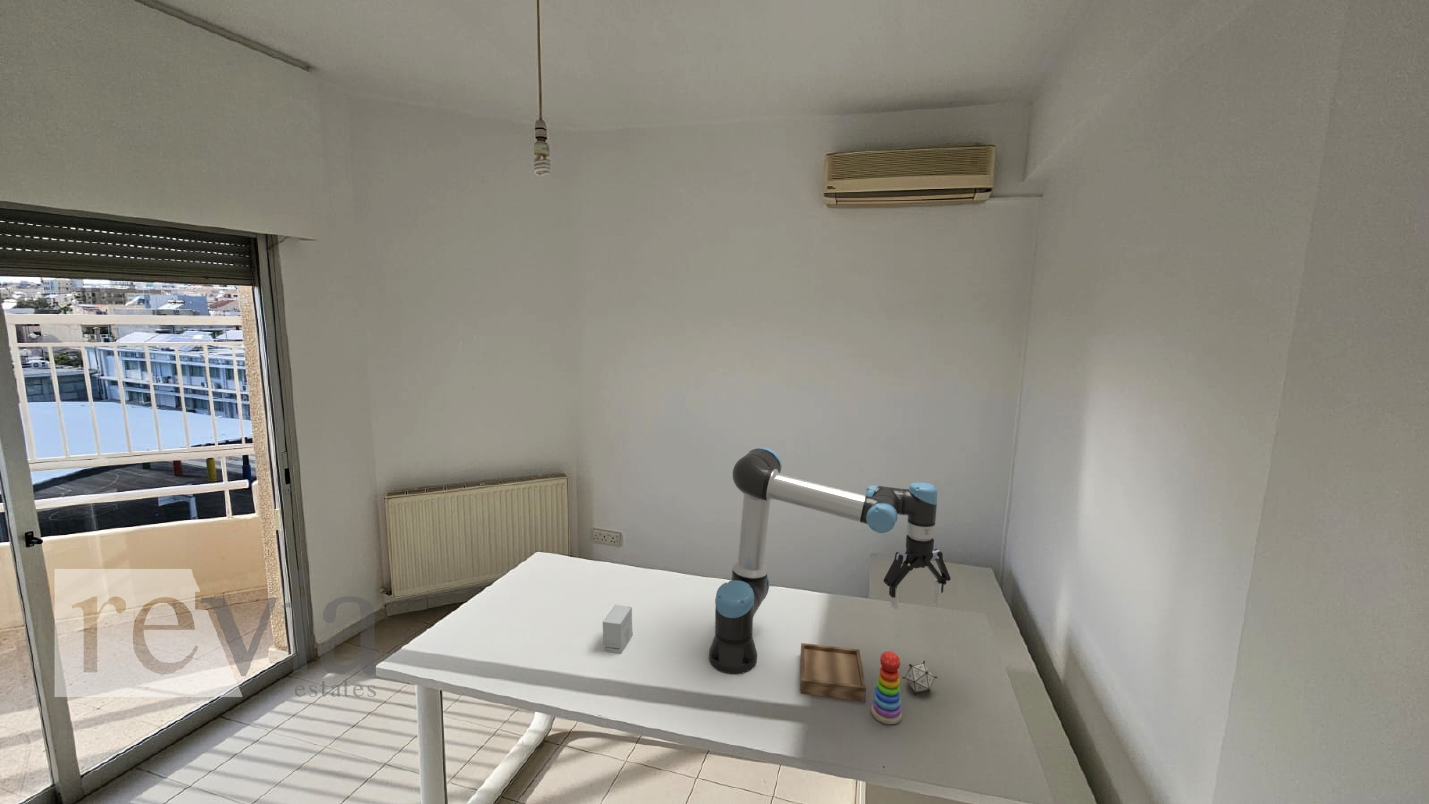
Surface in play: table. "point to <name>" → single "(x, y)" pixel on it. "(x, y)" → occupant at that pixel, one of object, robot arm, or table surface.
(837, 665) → the square tray
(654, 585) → the table surface
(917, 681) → the game die
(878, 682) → the stacking toy
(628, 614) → the skincare box
